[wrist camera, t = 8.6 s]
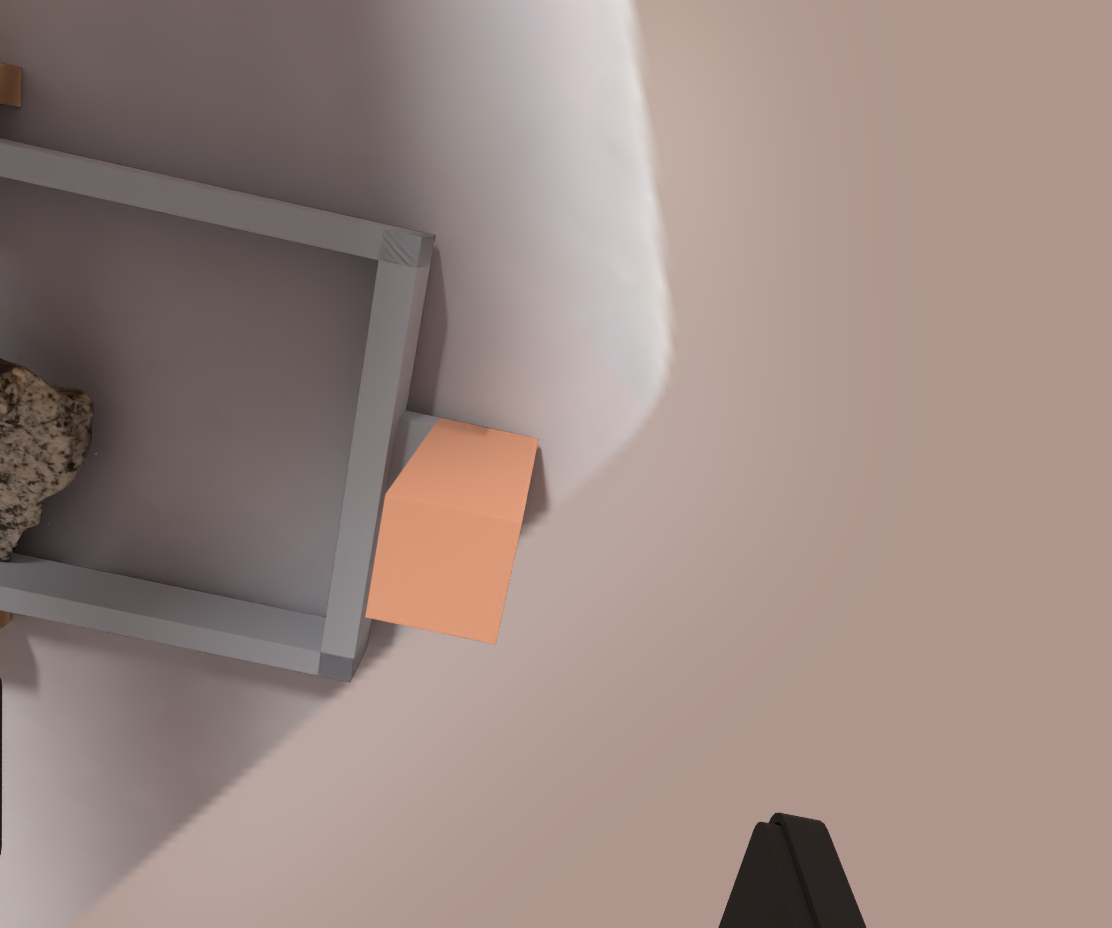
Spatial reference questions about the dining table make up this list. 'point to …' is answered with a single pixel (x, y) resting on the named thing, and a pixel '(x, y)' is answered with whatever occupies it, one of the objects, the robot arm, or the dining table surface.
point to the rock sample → (36, 447)
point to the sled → (372, 478)
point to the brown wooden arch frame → (5, 88)
